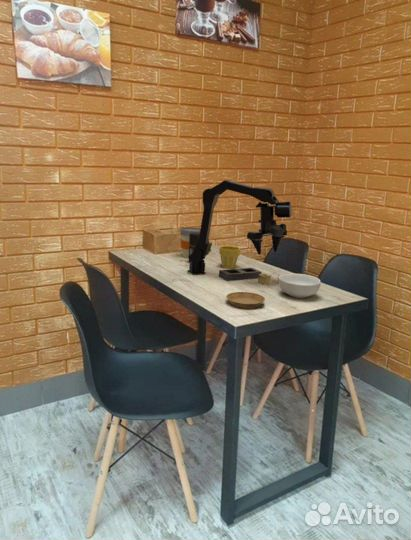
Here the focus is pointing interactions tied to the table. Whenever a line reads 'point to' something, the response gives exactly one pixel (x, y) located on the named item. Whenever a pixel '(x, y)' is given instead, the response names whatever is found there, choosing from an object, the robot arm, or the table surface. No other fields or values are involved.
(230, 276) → the rail
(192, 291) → the table surface
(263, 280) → the nut
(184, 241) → the reusable coffee cup
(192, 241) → the deodorant
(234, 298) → the plant saucer
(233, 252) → the plant pot
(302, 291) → the cereal bowl
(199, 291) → the table surface
